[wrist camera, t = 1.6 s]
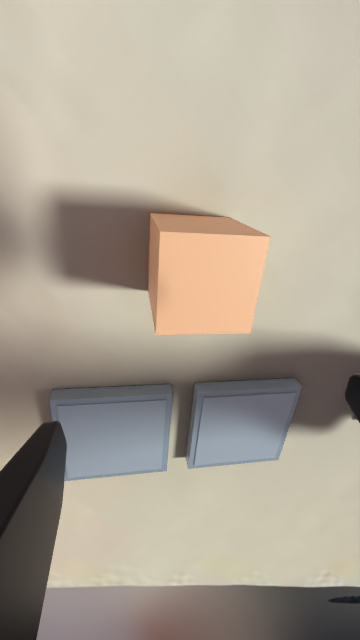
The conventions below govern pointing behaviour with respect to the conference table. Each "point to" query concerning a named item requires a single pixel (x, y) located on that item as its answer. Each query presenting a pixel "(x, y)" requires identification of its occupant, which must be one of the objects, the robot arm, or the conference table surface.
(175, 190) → the conference table surface
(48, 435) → the robot arm
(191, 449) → the dish
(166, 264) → the block
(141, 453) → the dish
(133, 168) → the conference table surface
